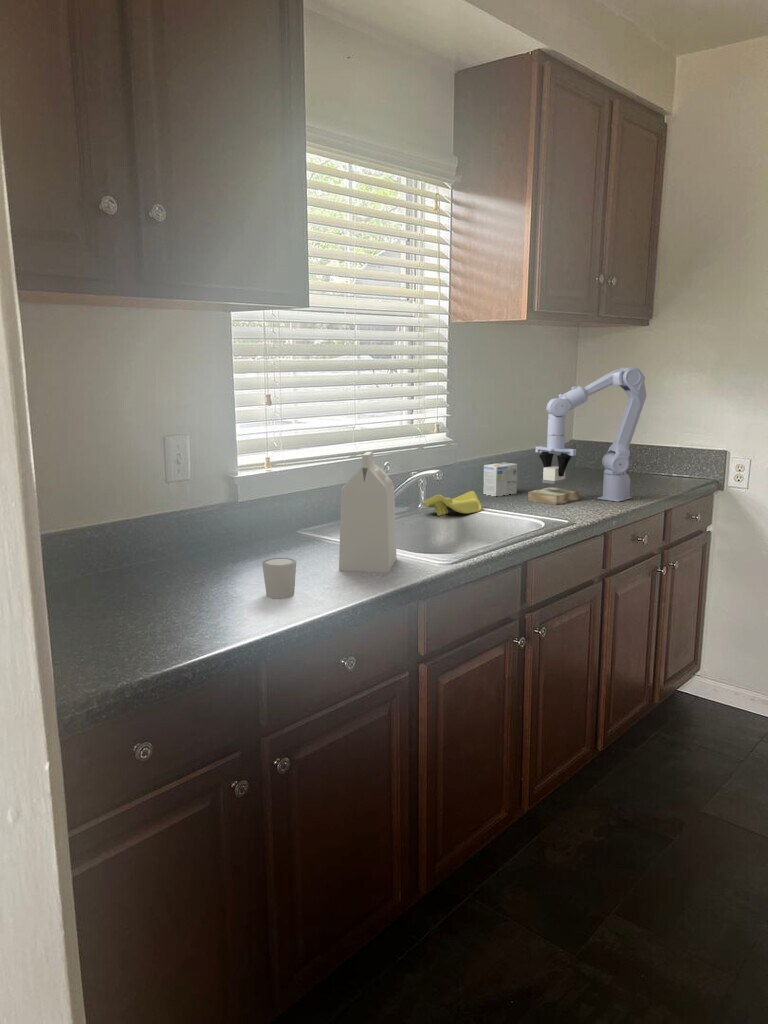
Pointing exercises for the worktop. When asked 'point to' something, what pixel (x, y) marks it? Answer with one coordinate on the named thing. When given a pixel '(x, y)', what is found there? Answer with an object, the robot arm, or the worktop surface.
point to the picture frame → (553, 495)
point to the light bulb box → (500, 479)
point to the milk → (368, 520)
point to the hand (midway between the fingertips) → (554, 475)
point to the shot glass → (279, 577)
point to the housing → (552, 475)
